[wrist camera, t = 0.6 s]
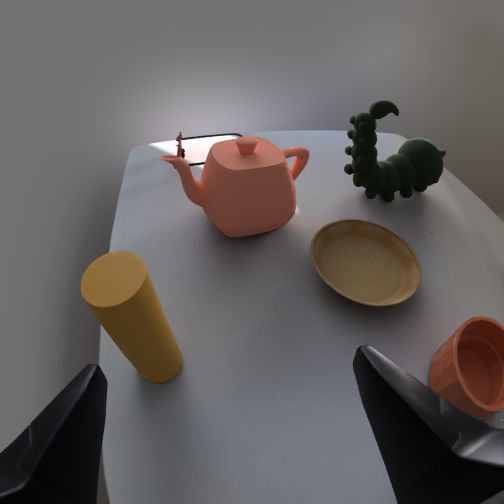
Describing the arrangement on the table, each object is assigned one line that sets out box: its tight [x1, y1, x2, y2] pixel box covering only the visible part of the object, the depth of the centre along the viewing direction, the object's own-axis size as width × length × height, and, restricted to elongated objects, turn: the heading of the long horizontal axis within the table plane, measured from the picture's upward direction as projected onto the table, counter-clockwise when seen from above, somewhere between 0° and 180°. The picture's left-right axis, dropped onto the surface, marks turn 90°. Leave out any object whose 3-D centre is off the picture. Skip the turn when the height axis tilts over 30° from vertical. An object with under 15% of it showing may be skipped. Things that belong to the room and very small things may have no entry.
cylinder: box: [80, 251, 182, 383], centre depth 22 cm, size 5×5×13 cm
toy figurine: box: [344, 100, 446, 202], centre depth 43 cm, size 9×19×25 cm
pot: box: [429, 316, 504, 421], centre depth 21 cm, size 11×11×6 cm
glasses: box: [174, 132, 242, 169], centre depth 54 cm, size 14×16×5 cm
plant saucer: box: [310, 219, 421, 307], centre depth 34 cm, size 15×15×3 cm
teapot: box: [161, 136, 310, 238], centre depth 38 cm, size 13×20×12 cm, turn 110°
